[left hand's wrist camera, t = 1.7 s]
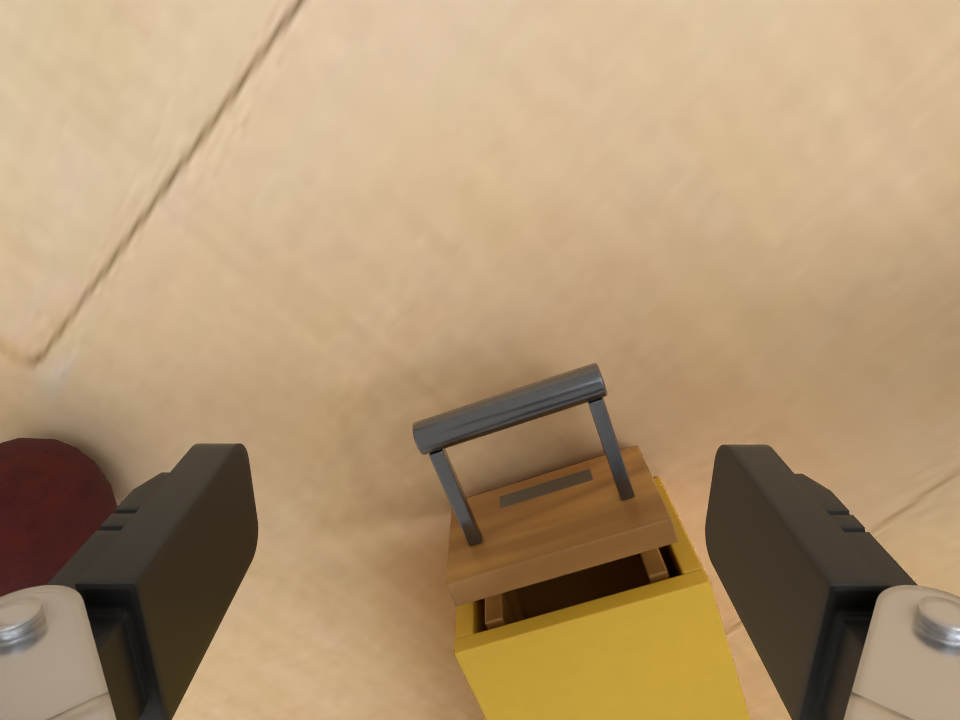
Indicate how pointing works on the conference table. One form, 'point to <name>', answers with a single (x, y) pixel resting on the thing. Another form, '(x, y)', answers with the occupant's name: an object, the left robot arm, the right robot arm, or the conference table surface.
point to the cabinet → (610, 653)
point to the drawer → (548, 511)
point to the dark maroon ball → (46, 509)
